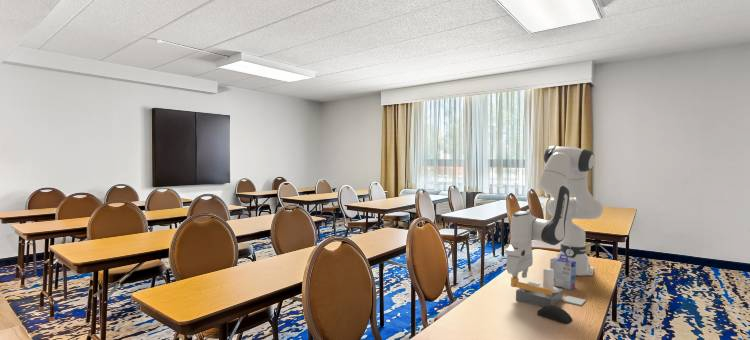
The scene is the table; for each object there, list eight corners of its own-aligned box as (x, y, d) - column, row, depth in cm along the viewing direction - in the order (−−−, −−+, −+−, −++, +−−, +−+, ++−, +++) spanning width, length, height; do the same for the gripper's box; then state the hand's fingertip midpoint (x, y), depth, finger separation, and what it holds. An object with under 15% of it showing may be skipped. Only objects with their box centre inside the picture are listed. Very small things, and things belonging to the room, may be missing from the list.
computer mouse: (543, 311, 150) (543, 301, 150) (573, 320, 142) (573, 310, 142) (535, 315, 146) (535, 305, 146) (566, 325, 138) (566, 314, 138)
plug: (541, 295, 166) (542, 265, 166) (560, 300, 161) (561, 269, 161) (535, 300, 161) (536, 269, 160) (554, 305, 156) (555, 273, 155)
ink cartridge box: (576, 287, 177) (576, 256, 176) (571, 290, 173) (571, 258, 173) (554, 282, 184) (555, 252, 184) (549, 284, 181) (549, 254, 180)
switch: (529, 290, 172) (529, 279, 172) (562, 298, 163) (562, 286, 163) (515, 299, 161) (516, 288, 161) (550, 309, 152) (550, 296, 151)
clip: (512, 284, 164) (512, 276, 164) (552, 294, 153) (552, 285, 153) (509, 286, 162) (510, 277, 162) (550, 295, 151) (550, 287, 151)
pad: (567, 297, 165) (567, 295, 165) (585, 301, 160) (585, 299, 160) (562, 301, 159) (562, 300, 159) (581, 306, 155) (581, 304, 155)
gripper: (522, 243, 177) (522, 273, 177) (504, 251, 162) (503, 283, 162) (536, 245, 173) (536, 276, 173) (518, 254, 158) (518, 287, 158)
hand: (520, 279), depth 168 cm, fingers open, 8 cm apart
